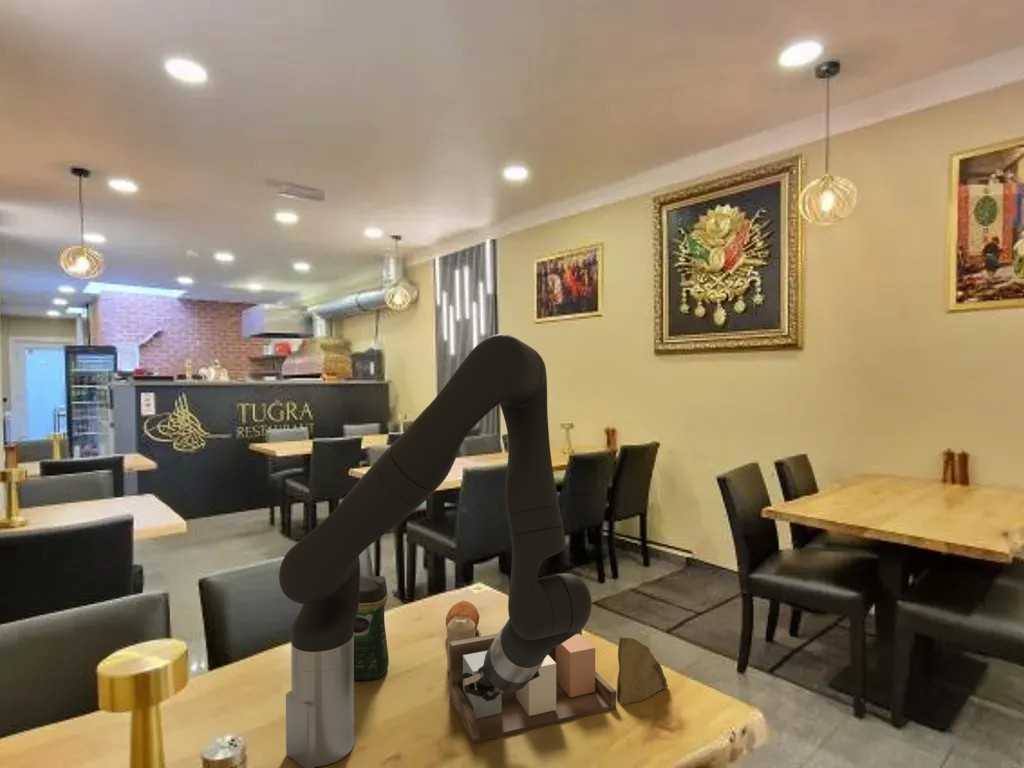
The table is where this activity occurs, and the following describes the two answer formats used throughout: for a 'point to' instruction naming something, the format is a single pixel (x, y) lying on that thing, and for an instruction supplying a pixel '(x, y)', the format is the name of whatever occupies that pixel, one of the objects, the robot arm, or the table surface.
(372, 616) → the coffee jar
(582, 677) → the key terracotta
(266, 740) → the table surface
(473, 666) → the grey blue block
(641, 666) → the rock
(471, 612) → the potato
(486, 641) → the tray
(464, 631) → the candle
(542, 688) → the cream rectangular block
